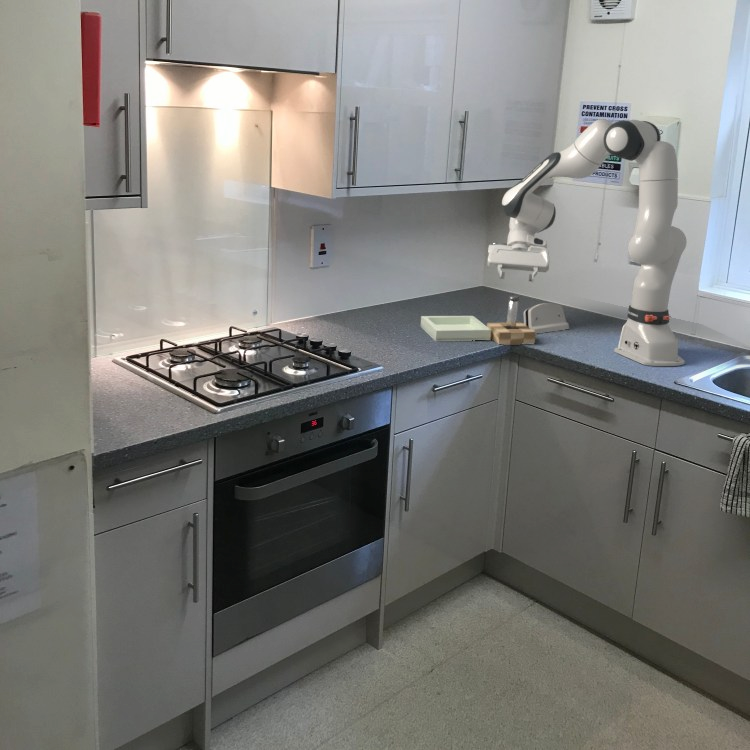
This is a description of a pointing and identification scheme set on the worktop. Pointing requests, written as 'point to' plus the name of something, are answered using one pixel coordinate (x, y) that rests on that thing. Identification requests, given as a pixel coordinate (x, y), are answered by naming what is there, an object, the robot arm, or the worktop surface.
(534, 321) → the grey slotted holder
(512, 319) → the steel pin
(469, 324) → the sage tray
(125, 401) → the worktop surface
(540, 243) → the robot arm
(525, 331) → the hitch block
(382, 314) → the worktop surface
